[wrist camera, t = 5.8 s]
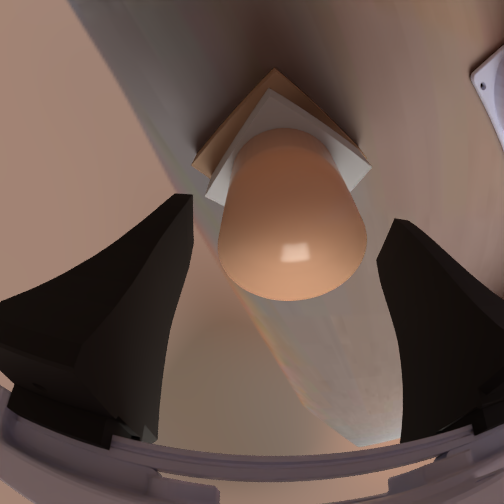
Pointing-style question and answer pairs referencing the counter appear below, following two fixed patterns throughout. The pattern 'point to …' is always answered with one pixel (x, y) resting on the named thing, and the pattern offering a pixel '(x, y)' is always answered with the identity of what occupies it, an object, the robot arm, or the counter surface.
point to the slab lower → (231, 126)
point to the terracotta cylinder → (289, 219)
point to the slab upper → (292, 116)
